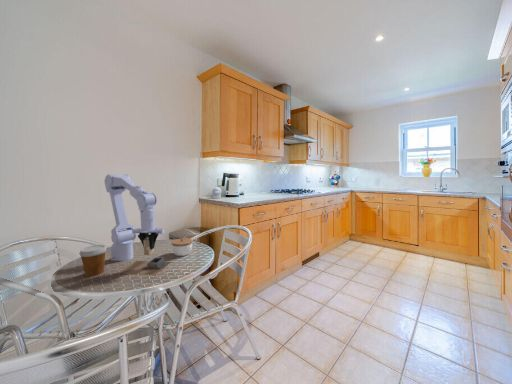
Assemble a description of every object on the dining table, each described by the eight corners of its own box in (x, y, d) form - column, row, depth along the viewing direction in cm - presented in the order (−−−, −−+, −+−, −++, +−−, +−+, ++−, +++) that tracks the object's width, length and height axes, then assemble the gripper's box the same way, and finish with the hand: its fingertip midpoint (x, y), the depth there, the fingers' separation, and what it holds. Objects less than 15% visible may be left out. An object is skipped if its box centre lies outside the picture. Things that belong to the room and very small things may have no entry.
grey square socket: (144, 268, 98) (144, 263, 98) (153, 262, 105) (153, 257, 105) (159, 269, 98) (159, 263, 98) (167, 262, 105) (166, 257, 105)
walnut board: (116, 275, 94) (116, 273, 94) (136, 262, 108) (136, 260, 107) (156, 276, 92) (156, 274, 92) (171, 263, 106) (171, 261, 106)
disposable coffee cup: (94, 281, 89) (92, 252, 88) (75, 279, 90) (73, 251, 89) (113, 270, 98) (111, 245, 97) (95, 269, 100) (93, 244, 99)
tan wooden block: (144, 254, 98) (143, 240, 97) (149, 251, 102) (148, 237, 101) (149, 255, 98) (148, 240, 97) (154, 251, 102) (153, 237, 101)
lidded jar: (186, 259, 111) (185, 241, 110) (167, 258, 113) (167, 240, 112) (196, 252, 121) (195, 235, 121) (179, 251, 123) (178, 235, 123)
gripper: (126, 221, 95) (128, 251, 96) (158, 221, 94) (159, 251, 95) (136, 218, 102) (138, 246, 103) (166, 218, 101) (167, 246, 102)
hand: (149, 248), depth 100 cm, fingers closed on tan wooden block, 2 cm apart
